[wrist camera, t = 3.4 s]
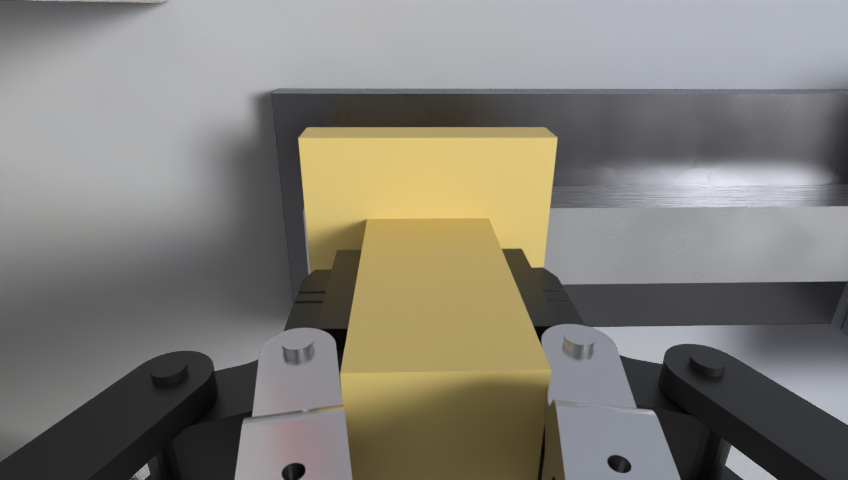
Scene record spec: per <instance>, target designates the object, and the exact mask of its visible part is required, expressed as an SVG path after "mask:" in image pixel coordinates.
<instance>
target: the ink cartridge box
mask: <svg viewBox="0 0 848 480" xmlns="http://www.w3.org/2000/svg"><path fill="white" fill-rule="evenodd" d="M19 1H80V2H134V3H161V2H165V1H168V0H19Z"/></svg>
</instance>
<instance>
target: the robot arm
mask: <svg viewBox="0 0 848 480" xmlns="http://www.w3.org/2000/svg"><path fill="white" fill-rule="evenodd" d="M361 251H362V250H337V252H336V256H335V259H334V263H333V267H332V269H327V270H314V271H313V272H312V273H311V274H309V275H308V276H307V277H306V278H304V279H303V281H302V283H301V286H300V289H299V291H298V294H297V297H296V299H295V304H294V305H293V308H292V310H291V313H290V316H289V318H288V321H287V324H286V326H285V329H284V331H283V332H281V333H278V334H276V335H274V336H273V337H271V338H270V339H268V340H267V341H266V342H265V343H264V344H263V345H262V347H261V349H260V353H259V359H258V360H256V361H254V362H251V363H248V364H245V365H241V366H236V367H232V368H227V369H223V370H218V371H214V366H213V362H212V360H211V359H210V358H209V357H208V356H207V355H205V354H203V353H200V352H195V351H178V352H172V353H167V354H164V355H160V356H158V357H155V358H153V359H151V360H149V361H147V362H145V363H143V364H142V365H140V366H139V367H137V368H136V369H134V370H133V371H131V372H130V373H129V374H127V375H126V376H124V377H123V378H121V379H120V380H118V381H117V382H116V383H114V384H113V385H111V386H110V387H108V388H107V389H105V390H104V391H103V392H101V393H100V394H98V395H97V396H95V397H94V398H92V399H91V400H90V401H88V402H87V403H85V404H84V405H82V406H81V407H79V408H78V409H77V410H75V411H74V412H72V413H71V414H69V415H68V416H66V417H65V418H64V419H62V420H61V421H59V422H58V423H56V424H55V425H53V426H52V427H51V428H49V429H48V430H46V431H45V432H43V433H42V434H40V435H39V436H38V437H36V438H35V439H33V440H32V441H30V442H29V443H27V444H26V445H25V446H23V447H22V448H20V449H19V450H17V451H16V452H14V453H13V454H12V455H10V456H9V457H7V458H6V459H4V460H3V461H1V462H0V480H129V479H130V478H131V477H132V476H133V475H134V474H135V473H136V472H137V471H139V470H140V469H141V468H142V467H143V466H144V465H145V464H146V463H148V467H149V471H150V475H149V476H148V477H147V478H146V479H145V480H352V471H351V462H350V454H349V445H348V436H347V427H346V419H345V410H344V404H342V392H341V378H340V372H341V366H342V360H343V354H344V349H345V343H346V337H347V331H348V326H349V320H350V314H351V309H352V303H353V297H354V291H355V286H356V280H357V274H358V268H359V263H360V257H361ZM502 251H503V254H504V256H505V259H506V261H507V263H508V266H509V268H510V271H511V273H512V276H513V278H514V280H515V283H516V285H517V288H518V290H519V293H520V295H521V297H522V300H523V302H524V305H525V307H526V310H527V312H528V314H529V317H530V319H531V322H532V324H533V327H534V329H535V331H536V334H537V336H538V339H539V341H540V344H541V346H542V348H543V351H544V353H545V356H546V358H547V361H548V363H549V365H550V368H551V376H550V384H549V387H546V394H545V403H544V411H543V412H544V423H545V424H544V432H543V439H542V447H541V455H540V463H539V471H538V479H537V480H743V479H742V478H740V477H739V476H738V475H737V474H735V473H734V472H733V471H731V470H730V469H729V468H728V467H726V466H725V464H726V460H727V457H728V454H729V451H730V448H731V445H732V446H734V447H735V448H736V449H738V450H739V451H740V452H742V453H743V454H744V455H746V456H747V457H748V458H750V459H751V460H752V461H754V462H755V463H756V464H758V465H759V466H760V467H762V468H763V469H765V470H766V471H767V472H769V473H770V474H771V475H773V476H774V477H775V478H776V479H778V480H848V425H847V424H845V423H843V422H842V421H840V420H838V419H837V418H835V417H833V416H831V415H830V414H828V413H826V412H825V411H823V410H821V409H820V408H818V407H816V406H815V405H813V404H811V403H810V402H808V401H806V400H805V399H803V398H801V397H800V396H798V395H796V394H794V393H793V392H791V391H789V390H788V389H786V388H784V387H783V386H781V385H779V384H778V383H776V382H774V381H773V380H771V379H769V378H768V377H766V376H764V375H763V374H761V373H759V372H757V371H756V370H754V369H752V368H751V367H749V366H747V365H746V364H744V363H742V362H741V361H739V360H737V359H736V358H734V357H732V356H730V355H729V354H727V353H724V352H722V351H720V350H717V349H714V348H711V347H707V346H703V345H696V344H681V345H676V346H673V347H671V348H669V349H668V350H667V351H666V353H665V356H664V360H663V364H658V363H652V362H647V361H641V360H636V359H631V358H627V357H624V356H621V355H619V353H618V350H617V347H616V345H615V343H614V342H613V340H612V339H611V338H610V337H608V336H607V335H606V334H604V333H602V332H600V331H599V330H596V329H594V328H591V327H588V326H586V325H585V324H584V322H583V320H582V318H581V317H580V315H579V313H578V312H577V310H576V308H575V306H574V305H573V303H572V301H571V300H570V298H569V296H568V294H567V293H566V291H564V287H563V286H562V284H561V282H560V280H559V279H558V277H557V276H555V275H554V274H552V273H551V272H549V271H548V270H546V269H545V268H544V267H536V268H531V266H530V264H529V262H528V260H527V258H526V256H525V254H524V252H523V250H522V249H521V248H515V249H502Z"/></svg>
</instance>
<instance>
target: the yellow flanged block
mask: <svg viewBox="0 0 848 480" xmlns="http://www.w3.org/2000/svg"><path fill="white" fill-rule="evenodd" d="M557 139H558V137H556V136H555V135H554V134H553V133H551V132H550V131H549V130H548V129H547V128H545V127H307V128H306V129H305V130H304V132H303V133H302V134H301V135H300V136H299V138H298V141H299V152H300V163H301V174H302V185H303V197H304V208H305V219H306V230H307V241H308V252H309V264H310V274H311V273H312V272H313V271H314V270H327V269H332V267H333V263H334V259H335V256H336V252H337V250H362V251H361V257H360V263H359V268H358V274H357V280H356V286H355V291H354V297H353V303H352V309H351V314H350V320H349V326H348V331H347V337H346V343H345V349H344V354H343V360H342V366H341V372H340V378H341V392H342V404H344V410H345V419H346V427H347V436H348V445H349V454H350V462H351V471H352V480H537V479H538V471H539V463H540V455H541V447H542V439H543V432H544V424H545V423H544V412H543V411H544V403H545V394H546V387H549V384H550V376H551V368H550V365H549V363H548V361H547V358H546V356H545V353H544V351H543V348H542V346H541V344H540V341H539V339H538V336H537V334H536V331H535V329H534V327H533V324H532V322H531V319H530V317H529V314H528V312H527V310H526V307H525V305H524V302H523V300H522V297H521V295H520V293H519V290H518V288H517V285H516V283H515V280H514V278H513V276H512V273H511V271H510V268H509V266H508V263H507V261H506V259H505V256H504V254H503V251H502V249H515V248H521V249H522V250H523V252H524V254H525V256H526V258H527V260H528V262H529V264H530V266H531V268H536V267H544V259H545V250H546V241H547V231H548V222H549V213H550V204H551V195H552V185H553V176H554V167H555V158H556V148H557Z"/></svg>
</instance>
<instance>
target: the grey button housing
mask: <svg viewBox="0 0 848 480" xmlns="http://www.w3.org/2000/svg"><path fill="white" fill-rule="evenodd" d="M841 331H842V332H843V333H844V334H846V335H847V336H848V314H847V316H846V319H845V322H844V324H843V327H842V329H841Z"/></svg>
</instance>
